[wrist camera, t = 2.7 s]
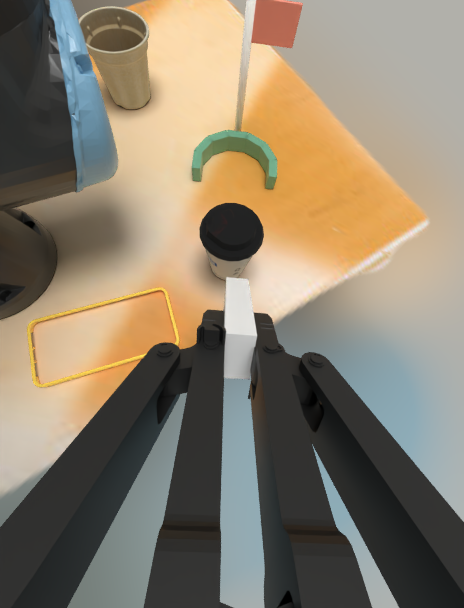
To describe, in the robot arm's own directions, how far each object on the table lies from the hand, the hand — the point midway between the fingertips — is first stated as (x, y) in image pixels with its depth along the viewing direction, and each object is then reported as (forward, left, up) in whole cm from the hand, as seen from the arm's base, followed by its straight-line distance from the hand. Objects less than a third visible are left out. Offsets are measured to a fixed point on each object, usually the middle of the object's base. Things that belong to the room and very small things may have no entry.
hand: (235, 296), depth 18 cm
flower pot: (-18, +38, -16) cm, 46 cm away
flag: (+2, +32, -16) cm, 36 cm away
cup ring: (0, +27, -16) cm, 31 cm away
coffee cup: (0, +9, -16) cm, 19 cm away
